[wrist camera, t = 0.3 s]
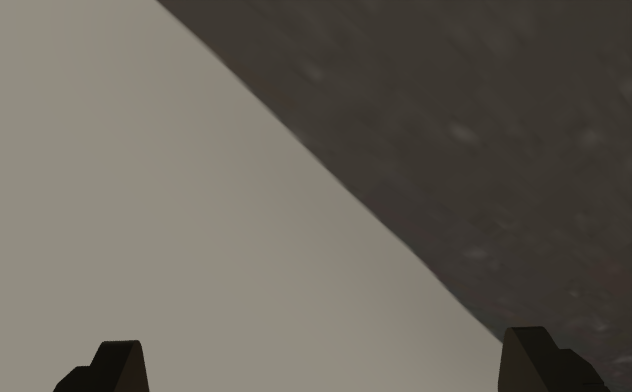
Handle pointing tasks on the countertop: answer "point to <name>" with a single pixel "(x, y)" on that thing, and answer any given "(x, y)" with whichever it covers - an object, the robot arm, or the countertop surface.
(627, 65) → the countertop surface
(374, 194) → the countertop surface
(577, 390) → the robot arm
